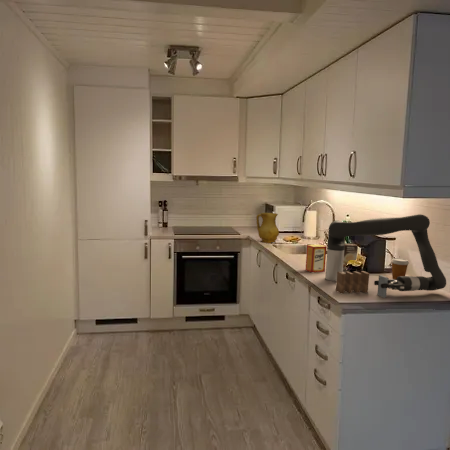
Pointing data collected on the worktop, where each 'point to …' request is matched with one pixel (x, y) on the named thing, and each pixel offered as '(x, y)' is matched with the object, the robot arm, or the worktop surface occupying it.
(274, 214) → the pitcher
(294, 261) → the worktop surface
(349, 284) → the domino
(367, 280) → the domino
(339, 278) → the domino
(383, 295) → the domino
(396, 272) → the disposable coffee cup
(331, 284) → the worktop surface
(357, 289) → the domino
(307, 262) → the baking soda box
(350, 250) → the coffee box
